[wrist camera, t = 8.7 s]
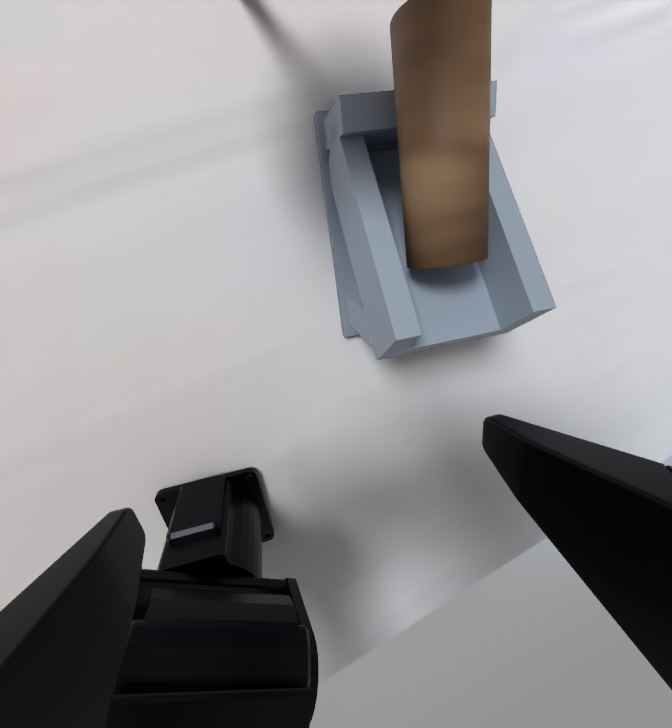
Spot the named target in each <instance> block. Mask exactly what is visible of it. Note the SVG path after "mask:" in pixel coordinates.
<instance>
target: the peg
mask: <svg viewBox="0 0 672 728" xmlns="http://www.w3.org/2000/svg"><path fill="white" fill-rule="evenodd" d="M491 8H492V0H408V1H407V2H405V3H404V4H403V5H402V6H401V7H400V8H399V9H398V10H397V12H396V13H395V14H394V16H393V18H392V20H391V23H390V34H391V48H392V62H393V77H394V91H395V105H396V120H397V134H398V148H399V162H400V177H401V191H402V205H403V220H404V234H405V248H406V263H407V268H410V269H429V268H441V267H450V266H457V265H464V264H469V263H474V262H479V261H482V260H485V259H487V258H488V232H489V158H490V83H491Z"/></svg>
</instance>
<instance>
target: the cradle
mask: <svg viewBox="0 0 672 728" xmlns="http://www.w3.org/2000/svg"><path fill="white" fill-rule="evenodd" d="M496 90H497V81H491V83H490V118H492V117H494V116H495V111H496ZM314 119H315V127H316V135H317V142H318V150H319V157H320V165H321V172H322V180H323V188H324V195H325V203H326V210H327V218H328V225H329V233H330V241H331V248H332V256H333V263H334V271H335V278H336V286H337V294H338V301H339V309H340V316H341V324H342V331H343V336H344V337H349V336H354V335H359V334H360V336H361V337H362V338H363V339H364V340H365V341H366V342H367V343H368V344H369V345H373V347H374V350H375V354H376V358H377V360H381V359H385V358H390V357H395V356H399V355H404V354H409V353H413V352H418V351H423V350H427V349H432V348H437V347H441V346H446V345H451V344H455V343H460V342H465V341H470V340H474V339H479V338H484V337H488V336H493V335H498V334H502V333H507V332H509V331H511V330H513V329H515V328H517V327H519V326H521V325H523V324H525V323H527V322H529V321H531V320H532V319H534V318H536V317H538V316H540V315H542V314H544V313H546V312H548V311H550V310H552V309H554V308H556V305H555V302H554V300H553V297H552V295H551V292H550V289H549V287H548V284H547V281H546V279H545V276H544V274H543V271H542V268H541V266H540V263H539V261H538V258H537V255H536V253H535V250H534V247H533V245H532V242H531V240H530V237H529V234H528V232H527V229H526V227H525V224H524V221H523V219H522V216H521V213H520V211H519V208H518V206H517V203H516V200H515V198H514V195H513V193H512V190H511V187H510V185H509V182H508V179H507V177H506V174H505V172H504V169H503V166H502V164H501V161H500V158H499V156H498V153H497V151H496V148H495V145H494V143H493V140H492V138H491V135H490V158H489V232H488V258H487V259H485V260H482V261H479V262H474V263H469V264H464V265H457V266H450V267H441V268H429V269H410V268H407V263H406V248H405V234H404V220H403V205H402V191H401V177H400V162H399V148H398V134H397V120H396V105H395V91H394V90H392V91H381V92H370V93H360V94H349V95H339V97H338V99H337V100H336V102H335V103H334V105H333V106H332V108H331V110H328V111H319V112H315V114H314Z"/></svg>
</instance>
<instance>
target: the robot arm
mask: <svg viewBox="0 0 672 728" xmlns="http://www.w3.org/2000/svg"><path fill="white" fill-rule="evenodd" d="M482 444H483V448H484V450H485V452H486V454H487V455H488V457H489V458H490V460H491V461H492V463H493V464H494V466H495V467H496V469H497V470H498V472H499V473H500V475H501V476H502V478H503V479H504V481H505V482H506V484H507V485H508V487H509V488H510V490H511V491H512V493H513V494H514V496H515V497H516V498H517V500H518V501H519V502H520V504H521V505H522V506H523V508H524V509H525V510H526V511H527V513H528V514H529V515H530V516H531V517H532V519H533V520H534V521H535V522H536V524H537V525H538V526H539V527H540V529H541V530H542V531H543V532H544V533H545V535H546V536H547V537H548V538H549V540H550V541H551V542H552V543H553V545H554V546H555V547H556V548H557V549H558V551H559V552H560V553H561V554H562V556H563V557H564V558H565V559H566V561H567V562H568V563H569V564H570V565H571V567H572V568H573V569H574V570H575V572H576V573H577V574H578V575H579V576H580V578H581V579H582V580H583V581H584V583H585V584H586V585H587V586H588V588H589V589H590V590H591V591H592V593H593V594H594V595H595V596H596V597H597V599H598V600H599V601H600V602H601V603H602V605H603V606H604V607H605V609H606V610H607V611H608V612H609V613H610V615H611V616H612V617H613V618H614V619H615V621H616V622H617V623H618V624H619V626H620V627H621V628H622V629H623V631H624V632H625V633H626V634H627V636H628V637H629V638H630V639H631V641H632V642H633V643H634V644H635V645H636V647H637V648H638V649H639V650H640V652H641V653H642V654H643V655H644V657H645V658H646V659H647V660H648V661H649V663H650V664H651V665H652V666H653V668H654V669H655V670H656V671H657V673H658V674H659V675H660V676H661V677H662V679H663V680H664V681H665V682H666V684H667V685H668V686H669V687H670V688H671V690H672V466H665V465H664V464H662V463H658V462H655V461H652V460H649V459H645V458H642V457H639V456H635V455H632V454H629V453H626V452H622V451H619V450H616V449H612V448H609V447H606V446H603V445H599V444H596V443H593V442H589V441H586V440H583V439H580V438H576V437H573V436H570V435H567V434H563V433H560V432H557V431H553V430H550V429H547V428H544V427H540V426H537V425H534V424H530V423H527V422H524V421H521V420H517V419H514V418H511V417H508V416H504V415H501V414H498V415H493V416H489V417H486V418H485V419H484V422H483V438H482ZM247 475H252V476H251V477H248V476H247ZM162 496H165V497H167V498H162ZM155 502H156V504H157V506H158V508H159V511H160V513H161V515H162V517H163V519H164V521H165V523H166V525H167V528H168V532H167V535H166V542H165V545H164V549H163V552H162V556H161V559H160V563H159V566H158V569H157V570H148V569H142V560H143V554H144V547H145V533H144V530H143V528H142V526H141V524H140V523H139V521H138V519H137V517H136V515H135V513H134V511H133V510H132V509H131V508H124V509H120V510H116V511H112V512H110V513H108V514H107V515H106V516H105V517H104V518H103V519H102V520H101V521H100V522H98V523H97V524H96V525H95V526H94V527H93V528H92V529H91V530H90V531H88V532H87V533H86V534H85V535H84V536H83V537H82V538H81V539H80V540H79V541H77V542H76V543H75V544H74V545H73V546H72V547H71V548H70V549H69V550H68V551H66V552H65V553H64V554H63V555H62V556H61V557H60V558H59V559H58V560H57V561H55V562H54V563H53V564H52V565H51V566H50V567H49V568H48V569H47V570H46V571H44V572H43V573H42V574H41V575H40V576H39V577H38V578H37V579H36V580H34V581H33V582H32V583H31V584H30V585H29V586H28V587H27V588H26V589H25V590H23V591H22V592H21V593H20V594H19V595H18V596H17V597H16V598H15V599H14V600H12V601H11V602H10V603H9V604H8V605H7V606H6V607H5V608H4V609H3V610H1V611H0V728H309V724H310V722H311V720H312V716H313V712H314V709H315V703H316V698H317V689H318V653H317V646H316V640H315V636H314V633H313V630H312V627H311V624H310V621H309V618H308V615H307V612H306V609H305V606H304V603H303V600H302V597H301V594H300V591H299V588H298V585H297V582H296V579H294V578H286V579H285V580H282V579H269V578H262V542H265V541H269V540H271V539H272V538H273V537H274V528H273V525H272V521H271V518H270V514H269V511H268V508H267V504H266V501H265V497H264V494H263V491H262V487H261V484H260V480H259V477H258V473H257V471H256V470H255V469H254V468H246V469H242V470H238V471H234V472H230V473H226V474H222V475H217V476H213V477H209V478H205V479H201V480H197V481H193V482H189V483H185V484H181V485H177V486H173V487H169V488H165V489H162V490H159V491H158V492H157V495H156V497H155ZM266 533H268V534H266Z"/></svg>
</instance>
